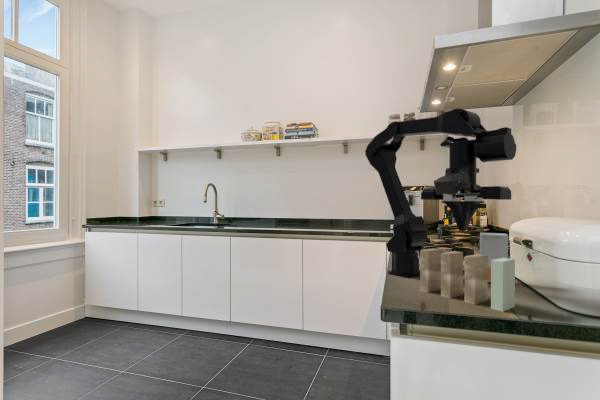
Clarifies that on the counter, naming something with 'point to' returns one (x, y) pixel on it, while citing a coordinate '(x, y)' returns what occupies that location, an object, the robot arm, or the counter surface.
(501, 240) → the skincare box
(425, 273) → the maple tile
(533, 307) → the counter surface
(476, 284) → the maple tile
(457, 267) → the maple tile
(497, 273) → the sage tile
